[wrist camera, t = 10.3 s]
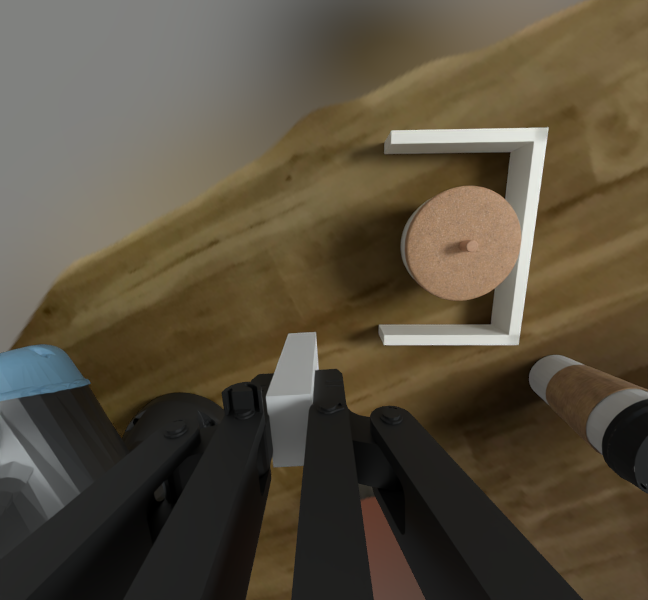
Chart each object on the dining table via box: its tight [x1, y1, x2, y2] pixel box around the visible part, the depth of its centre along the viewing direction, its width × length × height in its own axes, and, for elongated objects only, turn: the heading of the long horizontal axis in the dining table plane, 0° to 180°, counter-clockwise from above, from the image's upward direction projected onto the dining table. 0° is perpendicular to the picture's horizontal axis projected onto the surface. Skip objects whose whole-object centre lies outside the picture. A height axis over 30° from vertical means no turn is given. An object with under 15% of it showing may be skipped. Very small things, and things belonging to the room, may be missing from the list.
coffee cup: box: [529, 355, 648, 493], centre depth 32 cm, size 8×8×15 cm
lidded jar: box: [401, 186, 521, 301], centre depth 31 cm, size 11×11×9 cm
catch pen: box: [378, 128, 548, 345], centre depth 34 cm, size 15×22×4 cm
